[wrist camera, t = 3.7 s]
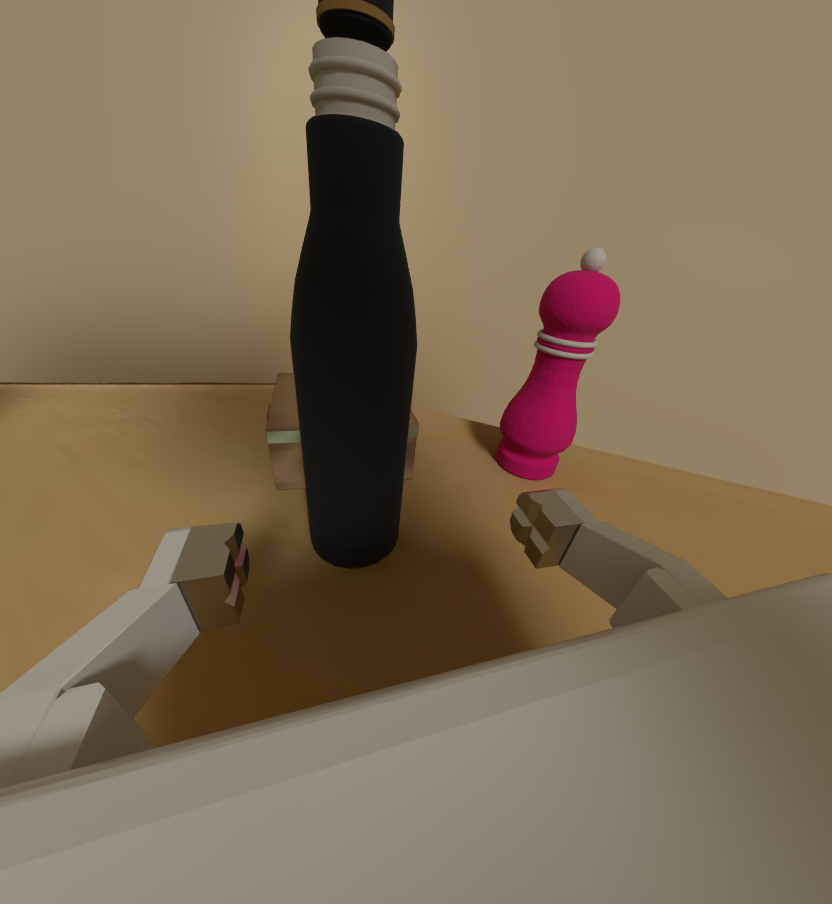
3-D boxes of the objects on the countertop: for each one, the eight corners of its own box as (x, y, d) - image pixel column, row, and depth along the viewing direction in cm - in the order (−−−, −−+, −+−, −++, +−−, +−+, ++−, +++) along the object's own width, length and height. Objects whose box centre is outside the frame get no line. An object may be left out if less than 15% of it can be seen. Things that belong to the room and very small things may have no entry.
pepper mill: (477, 453, 36) (529, 239, 25) (522, 440, 40) (584, 248, 29) (526, 491, 31) (616, 246, 20) (572, 473, 35) (670, 255, 24)
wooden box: (268, 491, 28) (257, 429, 24) (279, 421, 38) (272, 370, 34) (412, 478, 31) (419, 423, 28) (386, 417, 41) (389, 371, 38)
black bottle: (314, 577, 21) (183, -649, 5) (308, 510, 26) (235, -210, 10) (408, 558, 23) (530, -358, 7) (386, 499, 28) (428, -115, 12)
